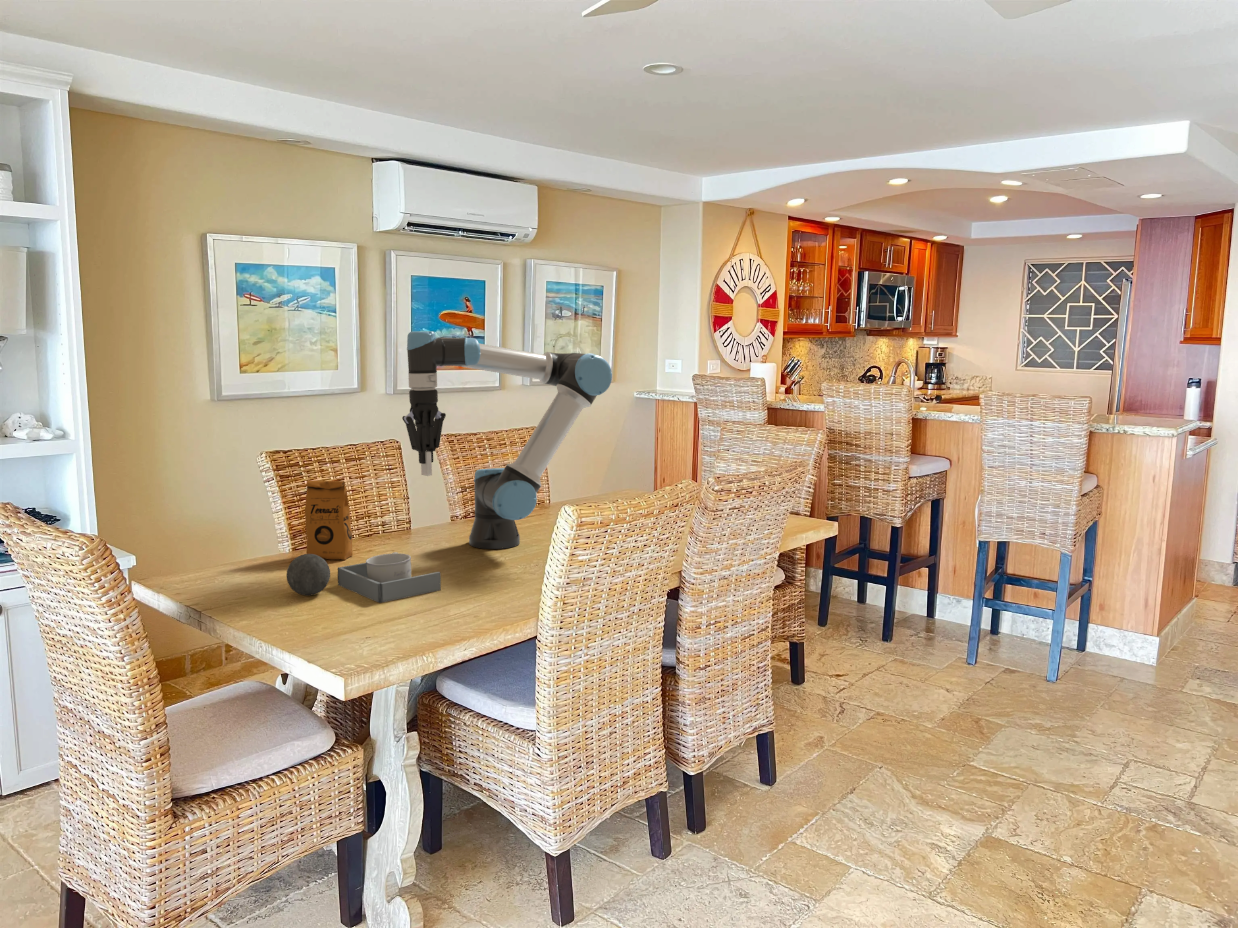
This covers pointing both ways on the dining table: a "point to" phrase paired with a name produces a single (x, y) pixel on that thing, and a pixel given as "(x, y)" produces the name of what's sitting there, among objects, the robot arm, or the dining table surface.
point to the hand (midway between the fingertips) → (426, 474)
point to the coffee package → (328, 520)
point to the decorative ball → (308, 574)
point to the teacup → (389, 567)
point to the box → (386, 584)
